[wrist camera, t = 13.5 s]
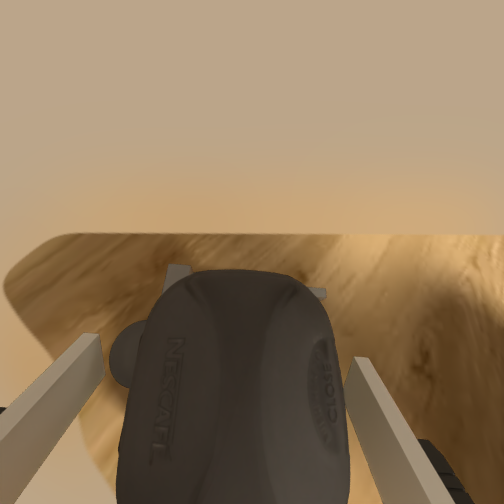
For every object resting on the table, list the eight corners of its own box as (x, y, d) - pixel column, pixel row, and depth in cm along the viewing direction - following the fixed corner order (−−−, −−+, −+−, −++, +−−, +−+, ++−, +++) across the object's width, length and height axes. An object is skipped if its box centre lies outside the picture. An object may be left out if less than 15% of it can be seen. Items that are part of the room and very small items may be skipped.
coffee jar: (275, 425, 22) (418, 666, 5) (190, 426, 21) (26, 698, 4) (272, 319, 26) (346, 252, 9) (200, 318, 25) (134, 244, 8)
